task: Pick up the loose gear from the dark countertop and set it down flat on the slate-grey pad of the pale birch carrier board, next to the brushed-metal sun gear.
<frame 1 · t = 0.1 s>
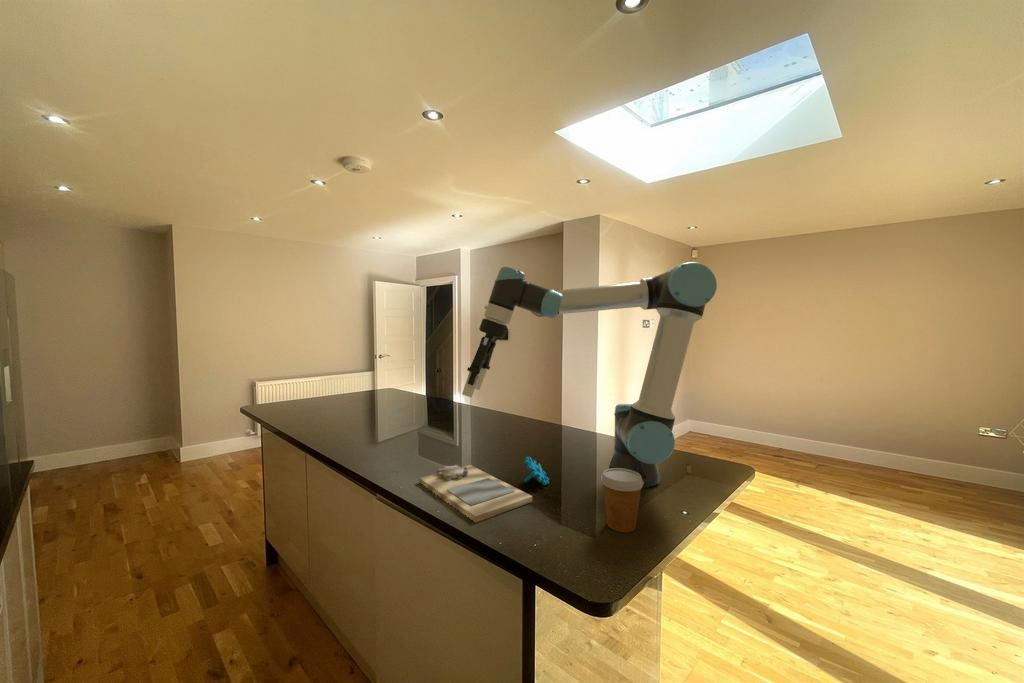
hand: (471, 391, 108), 28 cm above the table, tool tilted 20°, fingers open, 13 cm apart
disposable coffee cup: (621, 526, 88), on the table
gear: (536, 483, 114), on the table
carrier board: (472, 491, 106), on the table
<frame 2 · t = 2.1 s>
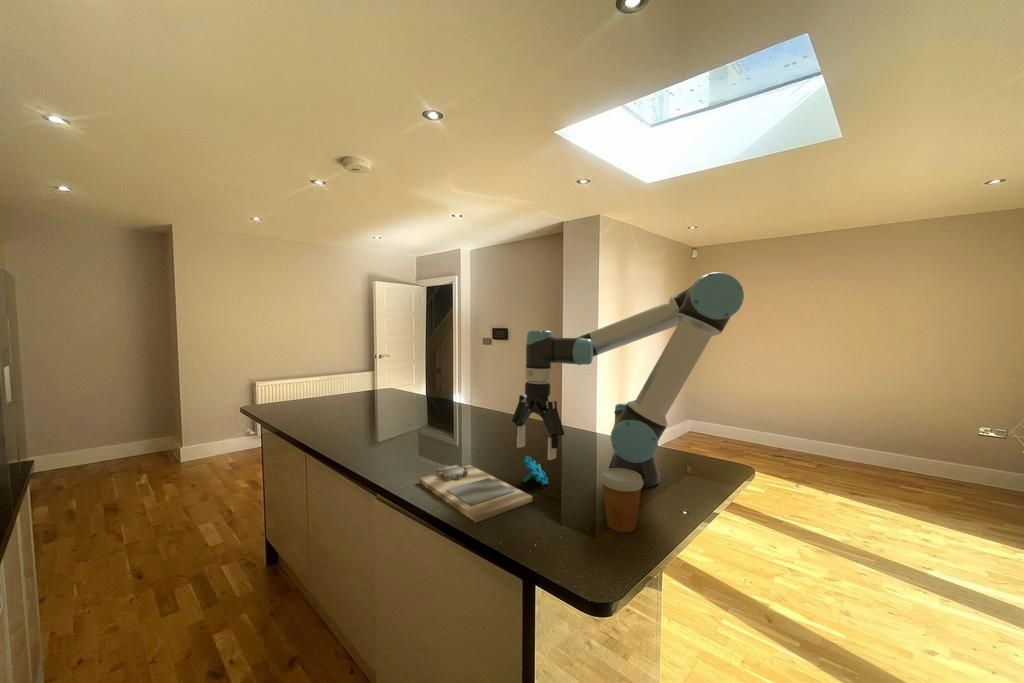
hand: (535, 452, 113), 9 cm above the table, tool pointing down, fingers open, 13 cm apart
nothing on the table moved.
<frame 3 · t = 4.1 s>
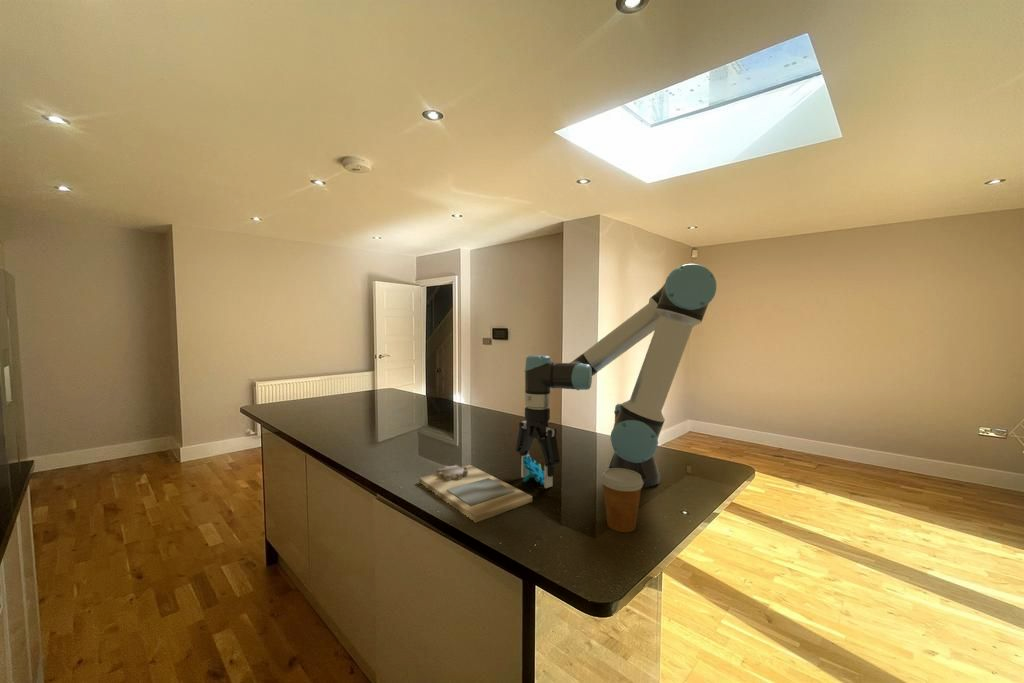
hand: (536, 481, 114), 0 cm above the table, tool pointing down, fingers closed on gear, 9 cm apart
gear: (535, 483, 114), on the table, touching gripper
everything else where it was.
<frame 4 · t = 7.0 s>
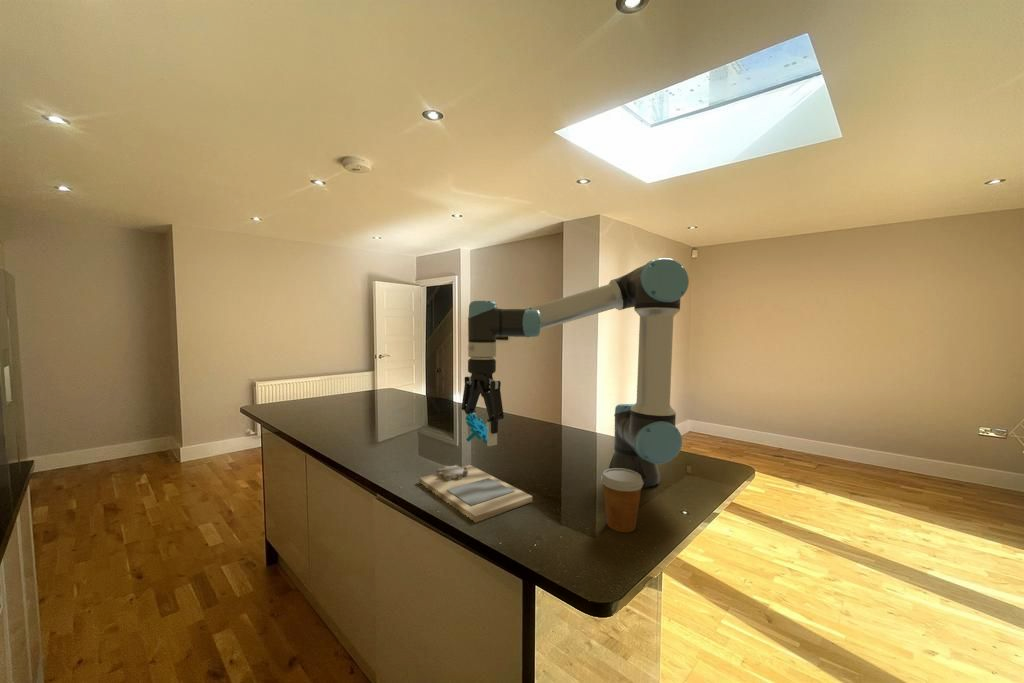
hand: (481, 440, 103), 15 cm above the table, tool pointing down, fingers closed on gear, 9 cm apart
gear: (480, 442, 103), point 15 cm above the table, touching gripper
everything else where it was.
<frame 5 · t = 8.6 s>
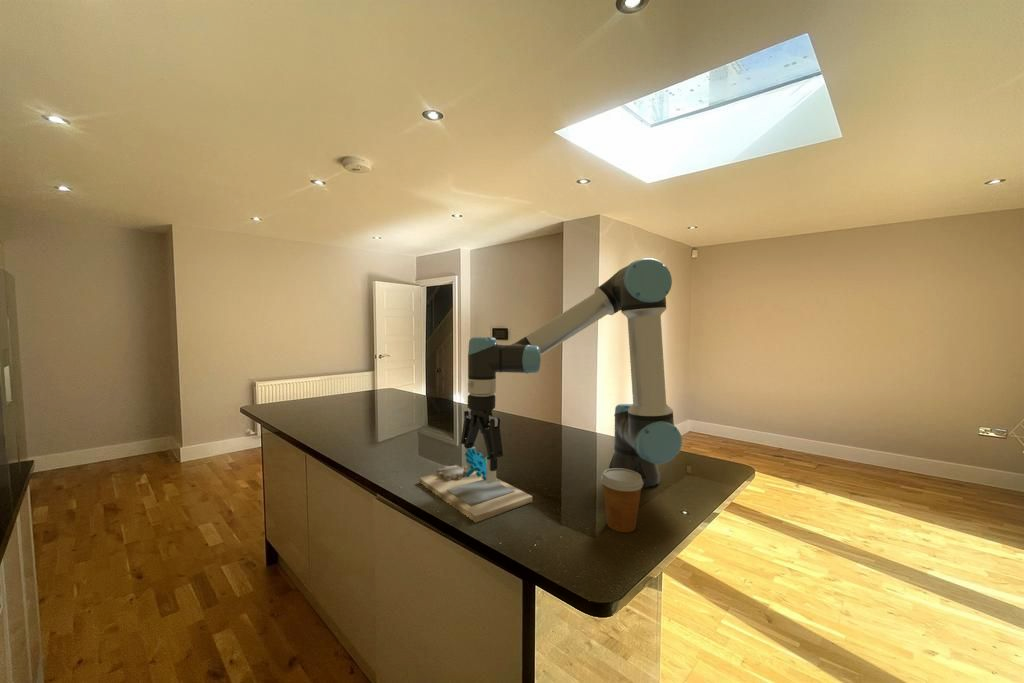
hand: (480, 476, 103), 6 cm above the table, tool pointing down, fingers closed on gear, 9 cm apart
gear: (479, 478, 103), point 5 cm above the table, touching gripper
everything else where it was.
when the fingers open (3 cm above the table, at t = 9.7 s): gear stays where it is, resting on carrier board.
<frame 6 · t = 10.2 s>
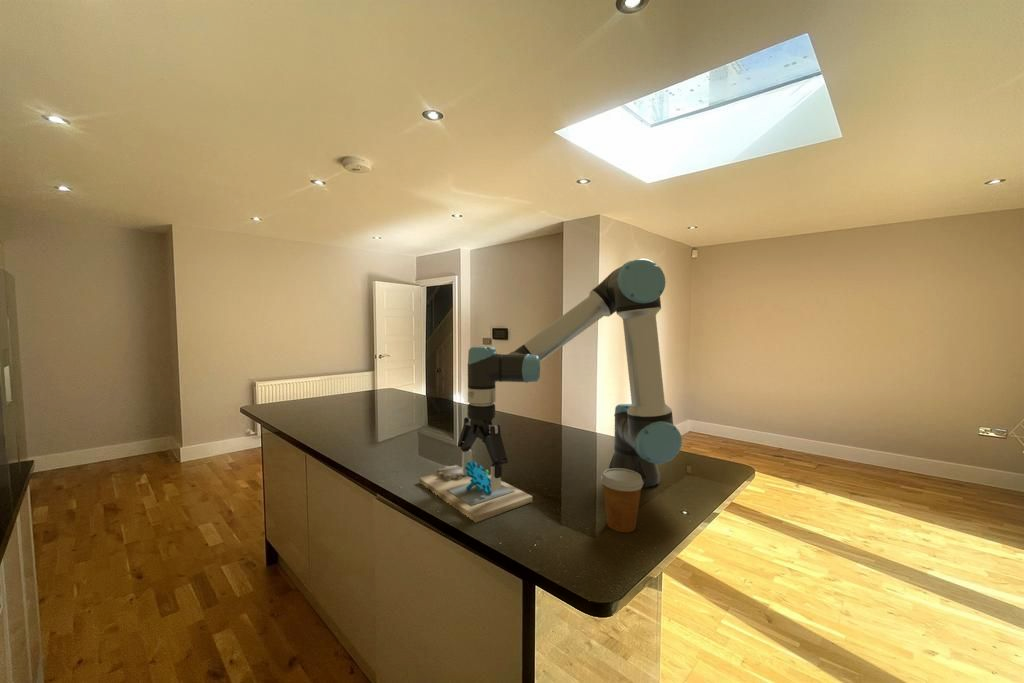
hand: (480, 481, 103), 4 cm above the table, tool pointing down, fingers open, 13 cm apart
gear: (480, 491, 103), point 1 cm above the table, touching carrier board
everything else where it was.
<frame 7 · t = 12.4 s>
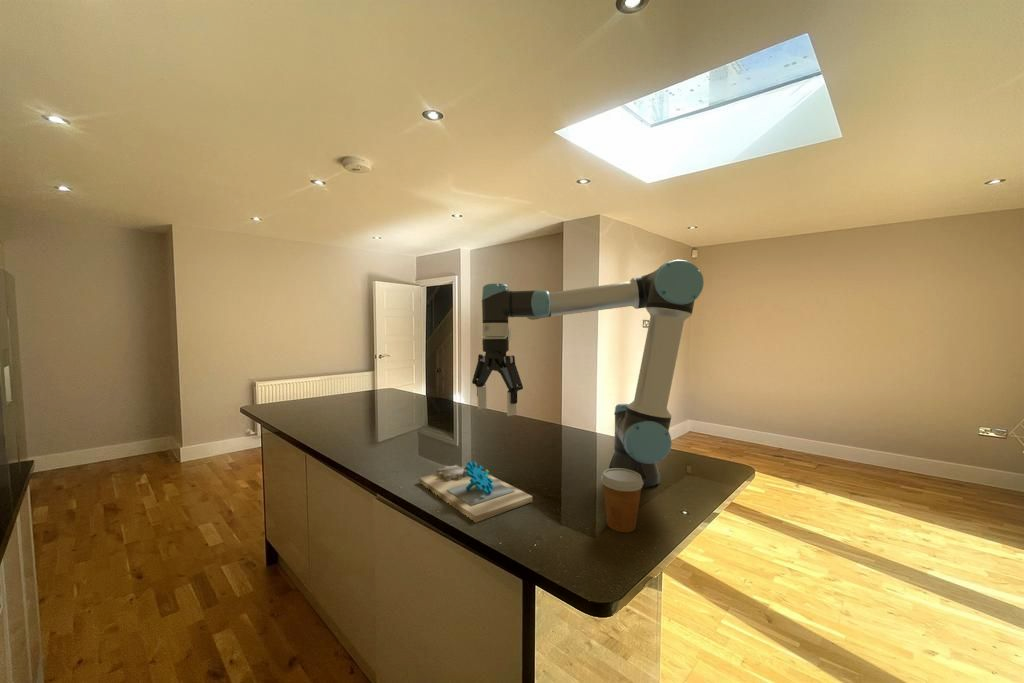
hand: (496, 411, 109), 22 cm above the table, tool pointing down, fingers open, 13 cm apart
nothing on the table moved.
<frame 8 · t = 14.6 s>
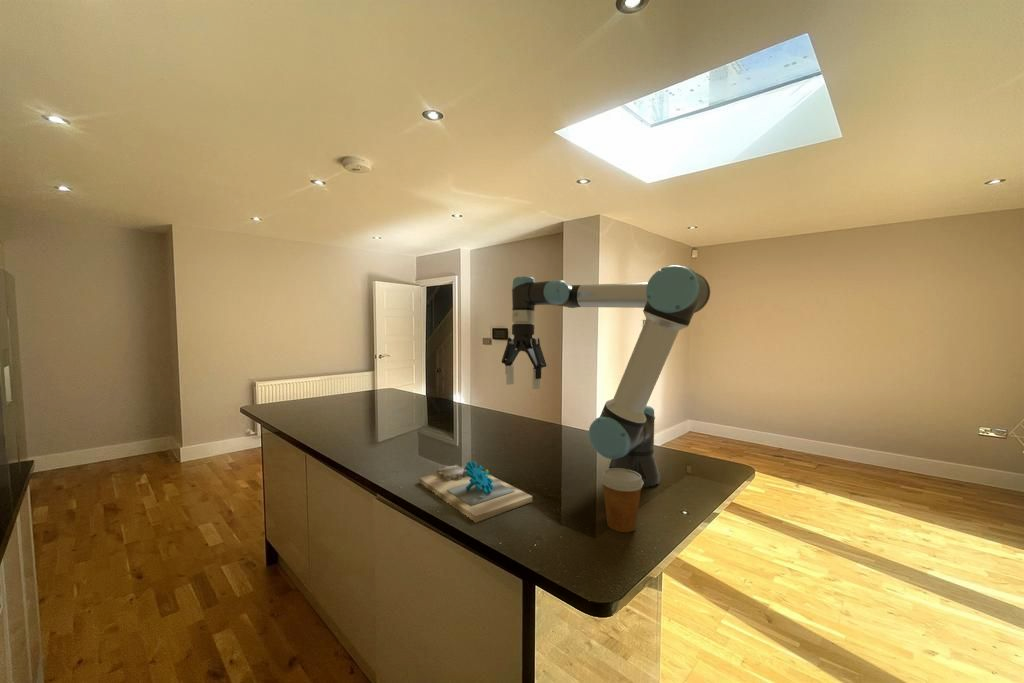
hand: (522, 386, 128), 27 cm above the table, tool pointing down, fingers open, 13 cm apart
nothing on the table moved.
at the end: gear inside the target area on the carrier board (0.2 cm from its centre), point 1.5 cm above the carrier board's base; gear tilted 0°; the gripper is holding nothing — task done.
